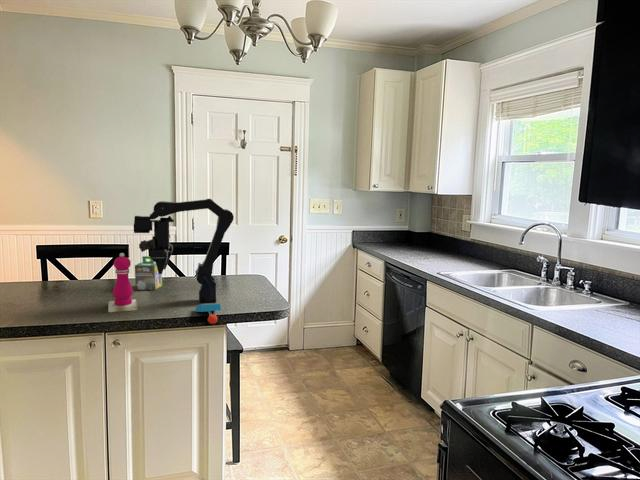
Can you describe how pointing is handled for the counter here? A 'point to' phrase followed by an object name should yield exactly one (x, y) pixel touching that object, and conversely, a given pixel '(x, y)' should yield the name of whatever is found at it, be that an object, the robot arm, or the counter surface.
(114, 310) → the plinth
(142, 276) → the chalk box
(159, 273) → the robot arm
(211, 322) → the lever
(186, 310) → the counter surface
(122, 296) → the pepper mill
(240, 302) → the counter surface
